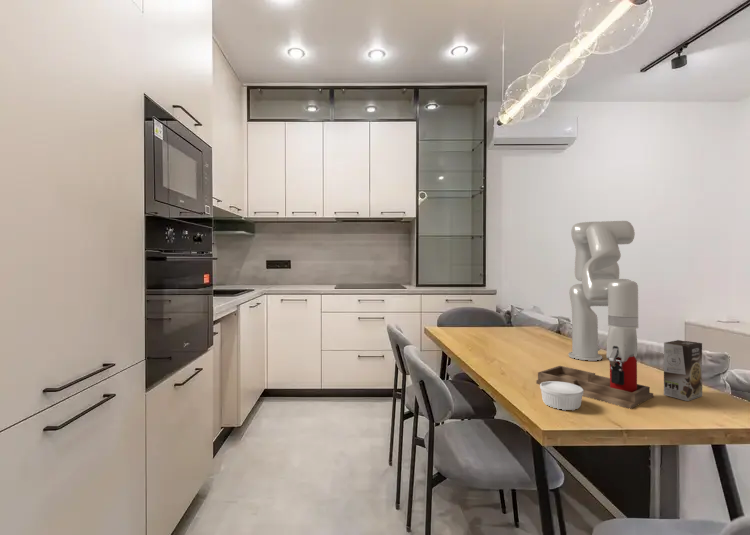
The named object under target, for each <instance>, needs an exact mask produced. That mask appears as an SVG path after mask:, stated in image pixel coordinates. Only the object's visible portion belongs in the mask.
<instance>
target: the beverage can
mask: <svg viewBox="0 0 750 535" xmlns="http://www.w3.org/2000/svg"><path fill="white" fill-rule="evenodd" d="M636 358H637V357H636ZM636 358H635V357H634V354H633V355H630V356H629V358H628V360H627V361H626V362H624V366H623V371H624V385H619V384H615V383H612V382H611V365H610V364H609V378H610V387H611V388H615V389H620V390H624V391H628V392H634V391H636V390H637V384H638V364H637V363H638V360H637V359H636ZM616 359H617V360H621V358H616ZM616 363H618V364H619V366H620V363H619V362H616Z"/></svg>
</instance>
